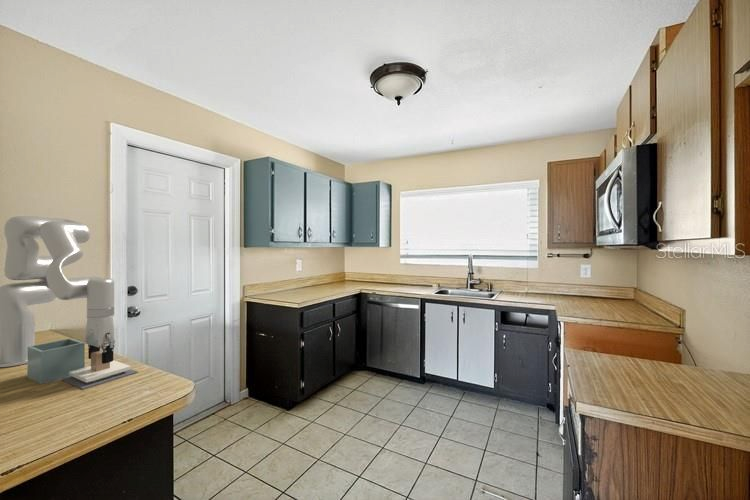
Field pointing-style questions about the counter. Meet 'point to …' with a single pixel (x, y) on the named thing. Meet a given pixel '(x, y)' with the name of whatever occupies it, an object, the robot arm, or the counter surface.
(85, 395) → the counter surface
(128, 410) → the counter surface
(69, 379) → the mat
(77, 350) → the teal storage bin
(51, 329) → the counter surface
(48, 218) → the robot arm
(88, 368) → the lid
